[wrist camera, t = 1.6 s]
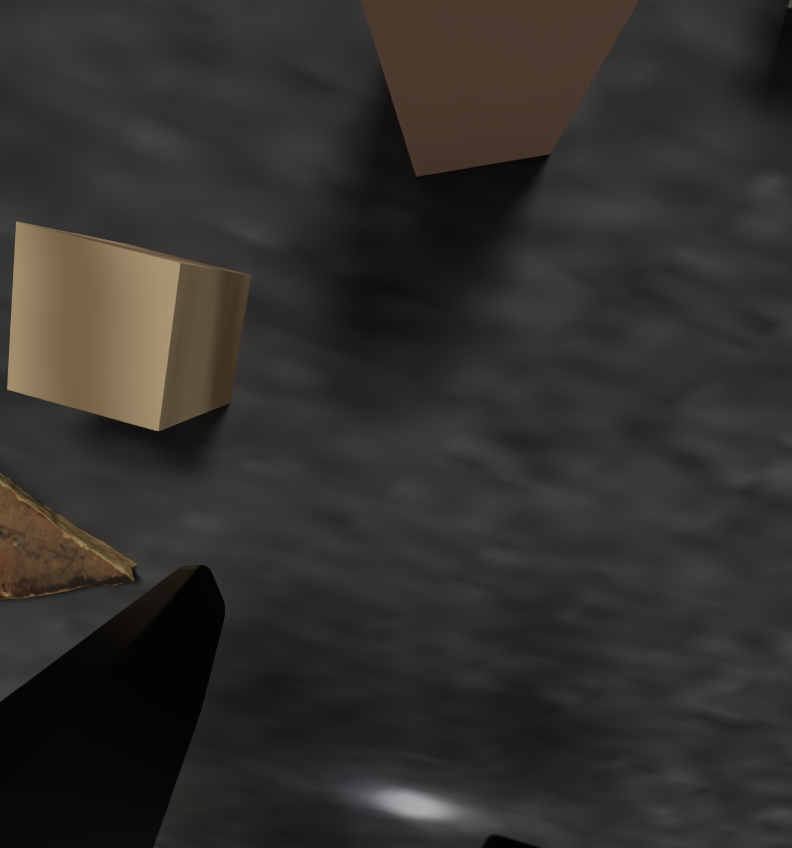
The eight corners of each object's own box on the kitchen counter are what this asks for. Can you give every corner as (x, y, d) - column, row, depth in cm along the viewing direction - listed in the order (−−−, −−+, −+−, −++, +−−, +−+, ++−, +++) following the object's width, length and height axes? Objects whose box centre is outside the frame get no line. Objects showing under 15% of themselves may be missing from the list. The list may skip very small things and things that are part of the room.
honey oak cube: (251, 275, 19) (180, 263, 14) (231, 402, 20) (158, 431, 15) (128, 244, 19) (16, 221, 14) (114, 371, 20) (7, 389, 16)
